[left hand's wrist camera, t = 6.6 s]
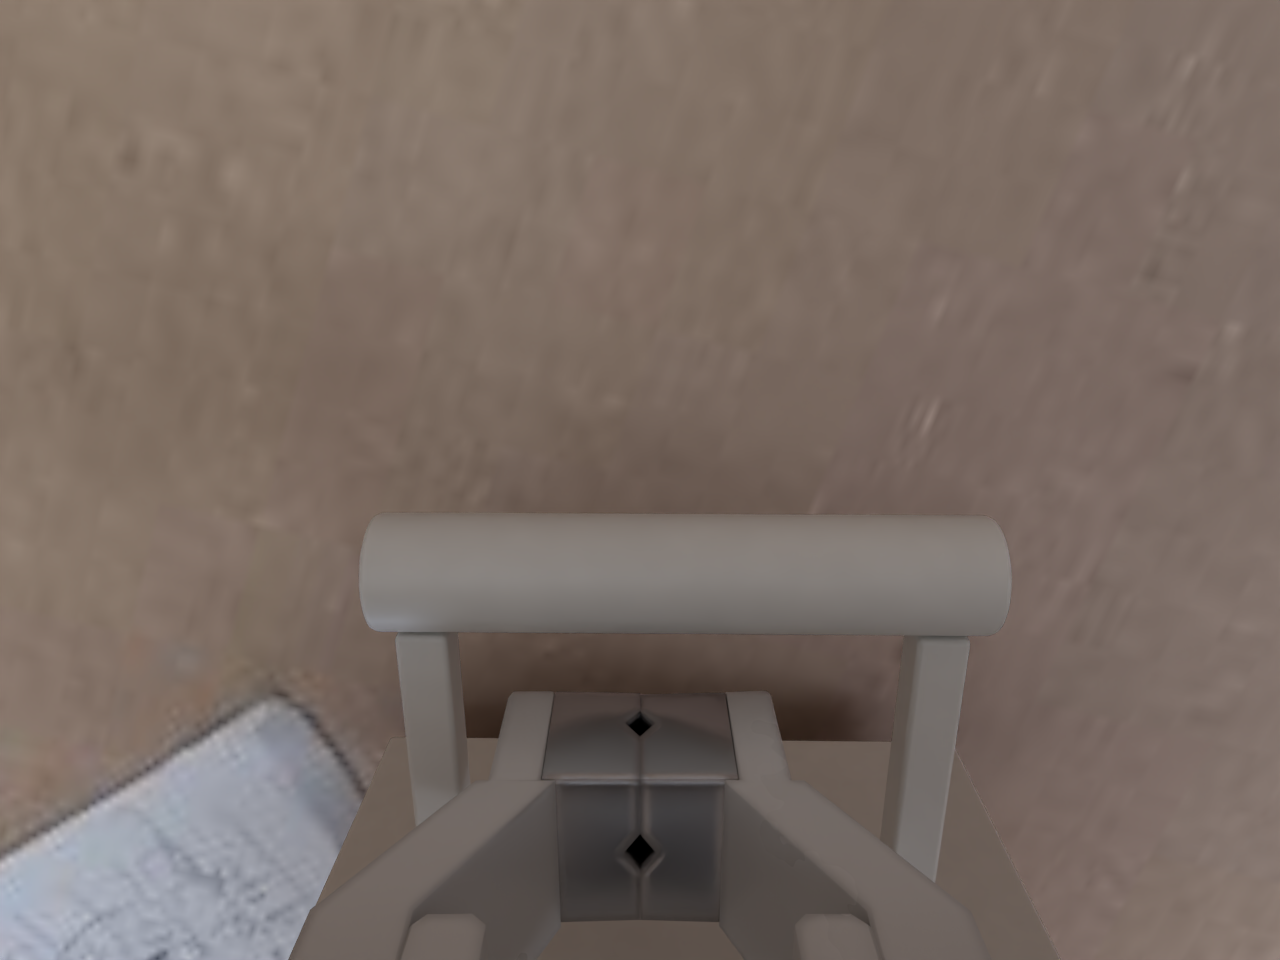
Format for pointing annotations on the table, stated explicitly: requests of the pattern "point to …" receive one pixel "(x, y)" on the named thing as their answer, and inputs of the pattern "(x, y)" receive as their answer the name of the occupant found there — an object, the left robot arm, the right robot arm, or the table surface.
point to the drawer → (706, 604)
